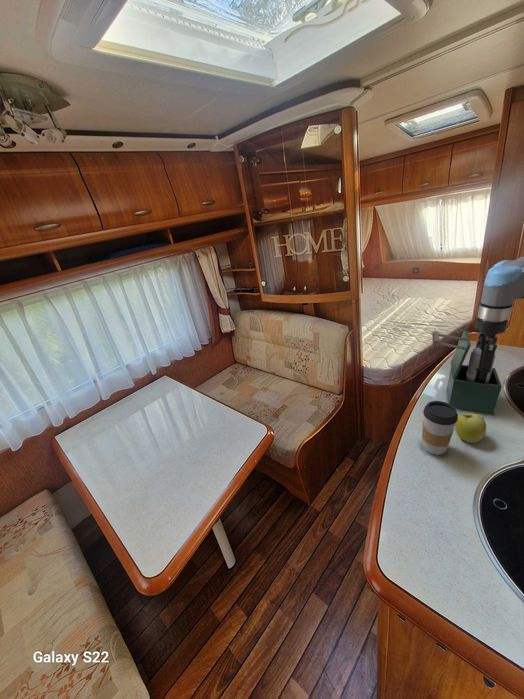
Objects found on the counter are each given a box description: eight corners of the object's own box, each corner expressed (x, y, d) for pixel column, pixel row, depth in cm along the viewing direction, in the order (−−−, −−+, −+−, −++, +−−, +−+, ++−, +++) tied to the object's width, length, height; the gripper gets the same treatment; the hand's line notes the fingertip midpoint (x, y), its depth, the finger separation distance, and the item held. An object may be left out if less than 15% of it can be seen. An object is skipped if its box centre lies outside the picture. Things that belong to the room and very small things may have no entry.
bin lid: (466, 330, 93) (434, 324, 97) (470, 345, 85) (435, 338, 89) (453, 362, 100) (423, 356, 104) (455, 379, 91) (422, 371, 95)
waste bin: (487, 395, 100) (495, 368, 95) (493, 415, 91) (501, 386, 86) (446, 389, 106) (451, 363, 101) (448, 407, 97) (453, 380, 92)
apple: (494, 443, 80) (490, 418, 76) (464, 449, 83) (458, 425, 79) (479, 425, 87) (475, 401, 83) (452, 430, 89) (446, 408, 86)
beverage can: (492, 386, 91) (501, 355, 85) (470, 386, 92) (477, 356, 87) (482, 376, 96) (489, 346, 91) (461, 376, 97) (468, 347, 92)
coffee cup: (419, 434, 88) (424, 397, 82) (449, 441, 84) (458, 403, 78) (417, 453, 82) (423, 414, 76) (450, 461, 78) (460, 422, 71)
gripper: (516, 331, 74) (496, 399, 85) (501, 308, 89) (486, 367, 99) (481, 330, 78) (466, 394, 88) (473, 307, 93) (461, 365, 103)
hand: (477, 380), depth 94 cm, fingers closed on beverage can, 6 cm apart
